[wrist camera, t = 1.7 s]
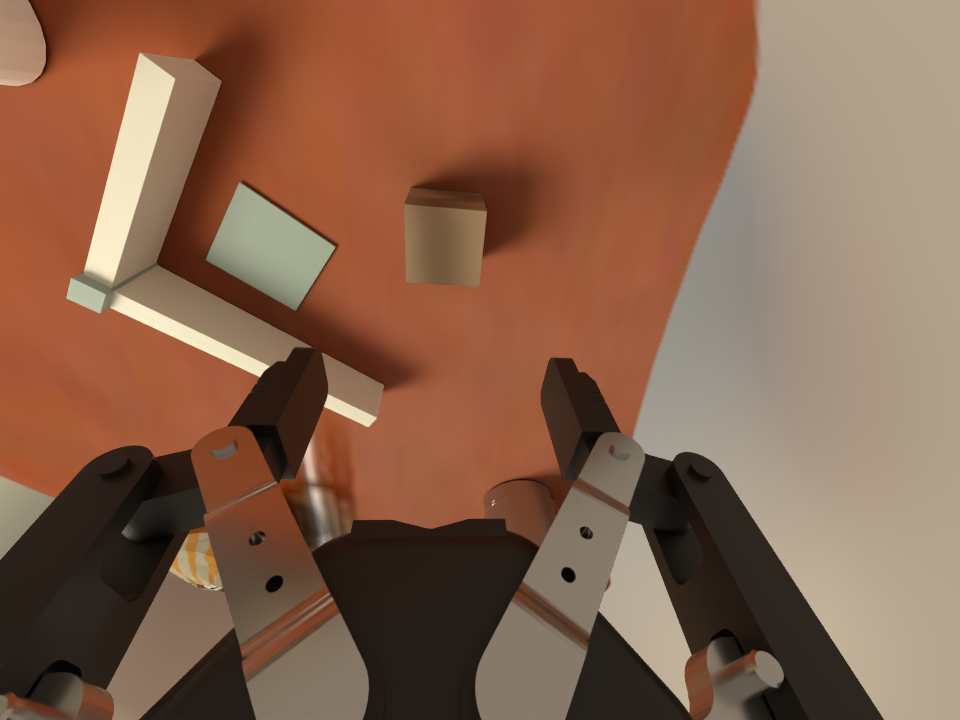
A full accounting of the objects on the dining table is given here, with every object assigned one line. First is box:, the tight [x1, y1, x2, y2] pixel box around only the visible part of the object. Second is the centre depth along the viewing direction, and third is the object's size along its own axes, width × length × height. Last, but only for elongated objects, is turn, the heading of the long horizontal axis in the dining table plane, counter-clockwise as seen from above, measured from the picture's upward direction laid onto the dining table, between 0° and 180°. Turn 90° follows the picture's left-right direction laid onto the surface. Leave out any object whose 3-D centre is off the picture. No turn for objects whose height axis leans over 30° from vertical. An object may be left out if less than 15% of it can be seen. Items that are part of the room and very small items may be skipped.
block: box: [404, 187, 487, 287], centre depth 25 cm, size 5×5×5 cm
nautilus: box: [169, 526, 224, 592], centre depth 48 cm, size 8×22×15 cm
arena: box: [67, 53, 384, 427], centre depth 26 cm, size 22×16×5 cm
